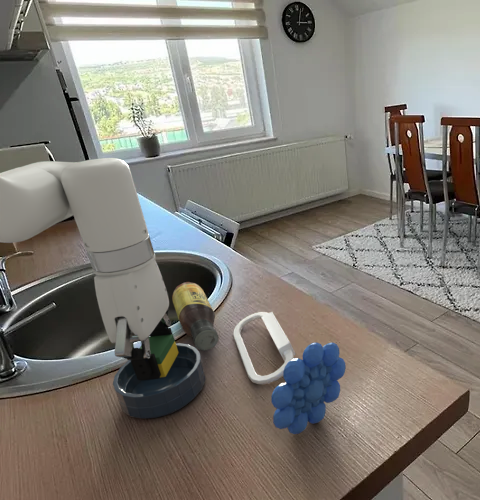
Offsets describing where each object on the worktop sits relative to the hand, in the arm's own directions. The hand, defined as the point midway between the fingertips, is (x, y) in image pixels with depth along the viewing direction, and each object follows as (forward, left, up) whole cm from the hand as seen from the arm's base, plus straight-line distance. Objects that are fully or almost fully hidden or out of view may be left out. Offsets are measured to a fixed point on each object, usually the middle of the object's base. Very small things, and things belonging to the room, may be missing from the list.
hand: (158, 363), depth 62 cm
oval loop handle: (+14, +8, -6) cm, 17 cm away
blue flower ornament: (+23, -8, -6) cm, 25 cm away
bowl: (0, 0, -5) cm, 5 cm away
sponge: (0, 0, -1) cm, 1 cm away
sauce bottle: (-5, +26, -2) cm, 26 cm away
